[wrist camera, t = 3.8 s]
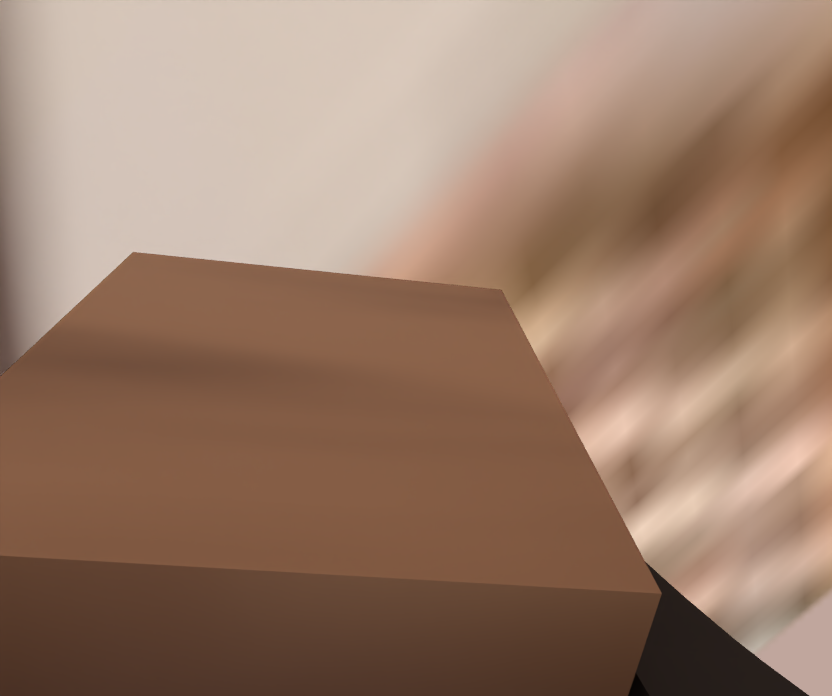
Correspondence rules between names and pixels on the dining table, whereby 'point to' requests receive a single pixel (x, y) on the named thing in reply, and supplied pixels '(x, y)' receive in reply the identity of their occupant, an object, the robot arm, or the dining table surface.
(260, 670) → the walnut block
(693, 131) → the dining table surface
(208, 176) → the dining table surface
